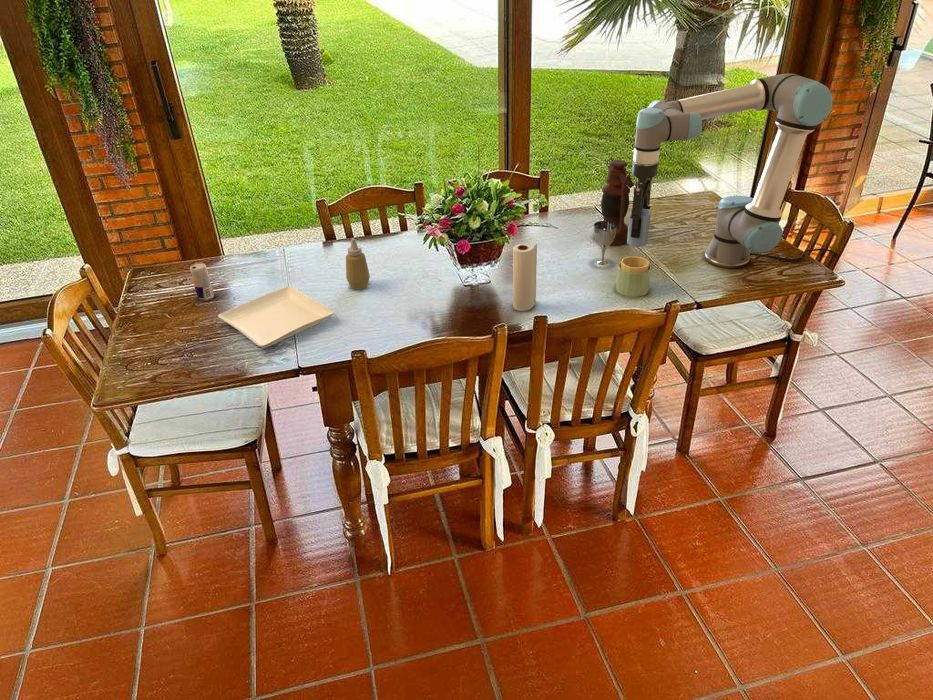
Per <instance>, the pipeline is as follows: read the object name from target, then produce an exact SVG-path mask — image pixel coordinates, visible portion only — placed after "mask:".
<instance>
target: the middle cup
mask: <svg viewBox="0 0 933 700" xmlns="http://www.w3.org/2000/svg"><path fill="white" fill-rule="evenodd" d="M620 262H621V269H622V270H624V271H626V272H629V273H644V272H647V271H648V267H649V264H650V261H649V260H648V259H647V258H645V257H642V256H637V255H636V256H635V255H631V256H625V257H623V258H622V259H621V261H620Z"/></svg>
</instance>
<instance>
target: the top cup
mask: <svg viewBox="0 0 933 700" xmlns="http://www.w3.org/2000/svg"><path fill="white" fill-rule="evenodd" d="M631 214H632V209H629V216H628V217H629V218H628V225H627V227H628V236H627V243H626V244H627V245H628V246H631V247H633V248H643V247H645V246H647V245H648V241H649V234H650V233H649V232H650V223H651V215H652V212H651V210H649V209H642V215H641V218H642V222H641V231H640V238H633V237H631V230H632V220H633V219H631V218H630V216H631Z"/></svg>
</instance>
